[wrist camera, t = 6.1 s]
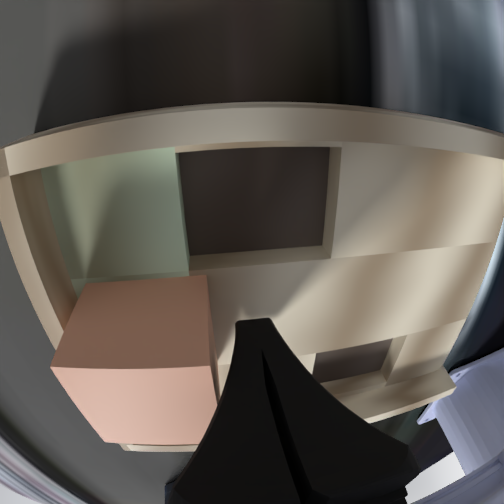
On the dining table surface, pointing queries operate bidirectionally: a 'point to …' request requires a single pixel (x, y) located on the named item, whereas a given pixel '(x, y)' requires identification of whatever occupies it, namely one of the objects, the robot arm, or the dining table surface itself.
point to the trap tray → (272, 230)
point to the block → (142, 360)
